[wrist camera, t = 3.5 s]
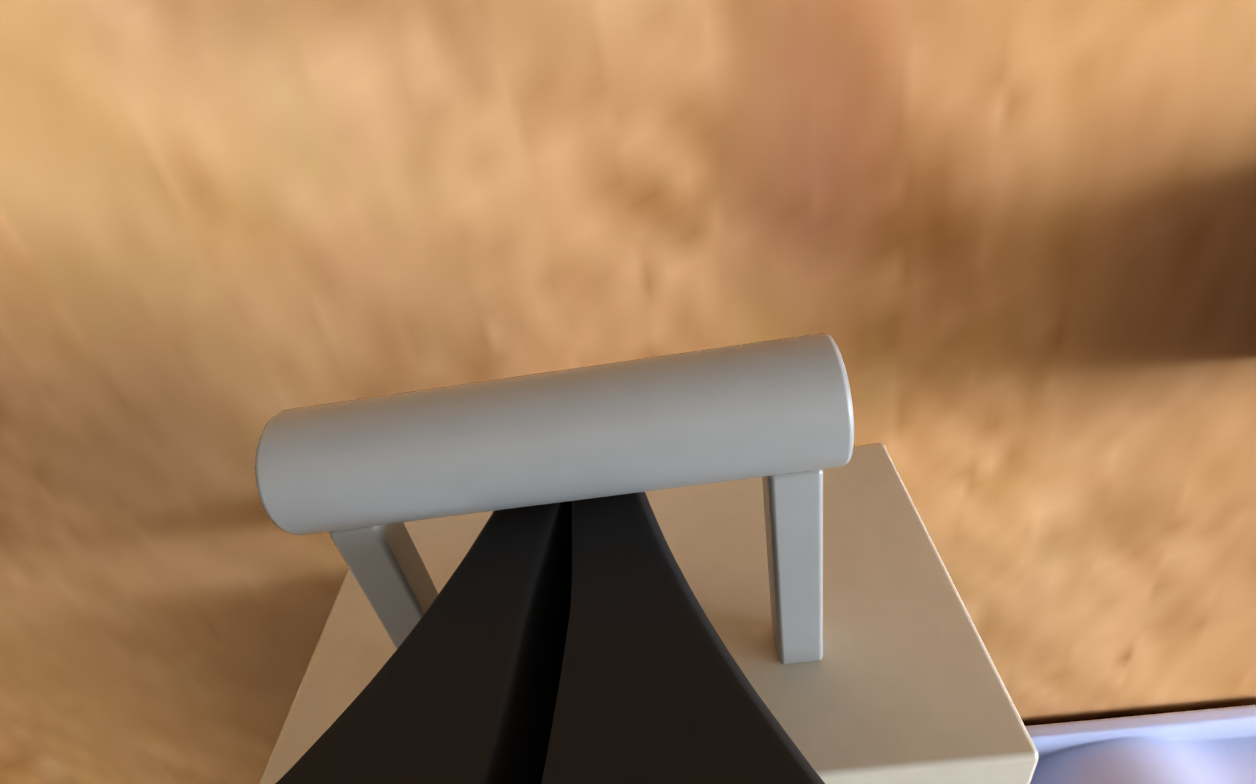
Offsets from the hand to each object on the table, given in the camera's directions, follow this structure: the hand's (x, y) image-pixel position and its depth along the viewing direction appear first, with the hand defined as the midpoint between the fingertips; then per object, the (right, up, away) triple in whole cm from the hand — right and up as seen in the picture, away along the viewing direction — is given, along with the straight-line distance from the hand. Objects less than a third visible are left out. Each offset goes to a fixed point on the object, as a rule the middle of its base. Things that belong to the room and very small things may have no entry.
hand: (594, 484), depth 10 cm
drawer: (+1, -3, +5) cm, 6 cm away
